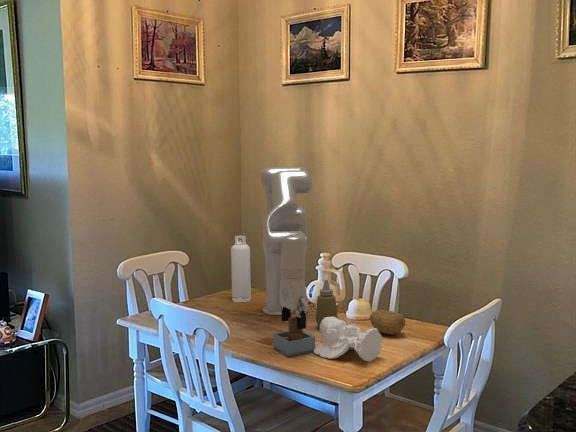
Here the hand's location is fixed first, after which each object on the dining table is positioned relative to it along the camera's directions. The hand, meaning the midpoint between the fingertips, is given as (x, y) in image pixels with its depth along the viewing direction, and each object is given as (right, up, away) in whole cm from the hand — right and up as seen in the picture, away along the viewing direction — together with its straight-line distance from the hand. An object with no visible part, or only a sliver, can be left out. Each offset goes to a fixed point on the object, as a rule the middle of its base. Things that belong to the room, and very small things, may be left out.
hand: (293, 324), depth 197 cm
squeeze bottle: (+12, -6, +24) cm, 27 cm away
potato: (+33, -6, +17) cm, 38 cm away
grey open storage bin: (0, -9, +1) cm, 9 cm away
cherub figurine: (+17, -9, -5) cm, 20 cm away
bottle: (-22, -1, +65) cm, 68 cm away
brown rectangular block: (+1, -8, +1) cm, 8 cm away
